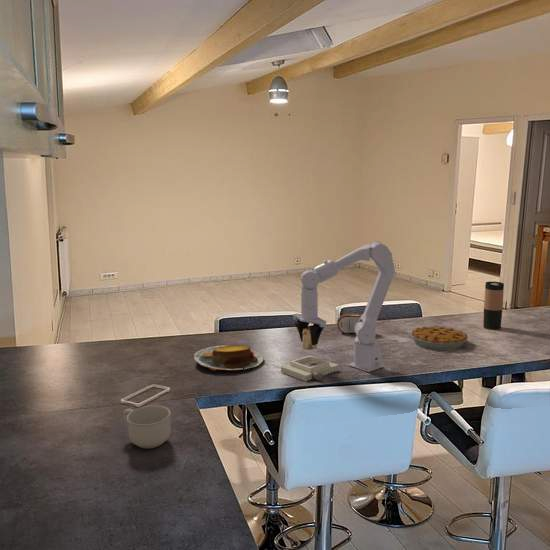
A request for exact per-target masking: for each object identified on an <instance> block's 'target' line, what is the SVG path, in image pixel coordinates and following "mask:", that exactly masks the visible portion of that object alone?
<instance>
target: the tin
mask: <svg viewBox="0 0 550 550" xmlns="http://www.w3.org/2000/svg"><path fill="white" fill-rule="evenodd" d="M362 314H363V313H343V314H341V315H340V316H339V317H338V318H337V322H336V325H337V329H338V330H339V331H340V332H341V333H343V334H346V333H355V331H354V326H355V324H356V323H357V322H358V321H359V320H360V318H361V316H362Z"/></svg>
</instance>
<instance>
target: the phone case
mask: <svg viewBox="0 0 550 550" xmlns="http://www.w3.org/2000/svg"><path fill="white" fill-rule="evenodd" d="M151 388H156V389H161V390H162V391H160V392H159V393H156V394H155V395H153V396H151V397H150V398H147V399H146V400H143V401H141V402H139V403H137V402H133V401H130V400H129V399H132V398H134V397H135V396H137V395H140V394H142V393H143V392H146V391H148V390H150V389H151ZM168 392H171V387H169V386H164V385H159V384H151V385H148V386H146V387H143V388H142V389H140V390H138V391H135V392H133V393H131V394H129V395H127V396H125V397H123V398H121V399H120V403H121V404H125V403H127V404H128V403H129V404H132V405H135V407H137V408H140V407H143V406H145V405H146V404H148V403H150V402H151V401H154V400H155V399H157V398H159V397H160V395H162V394H164V393H168ZM128 400H129V401H128Z"/></svg>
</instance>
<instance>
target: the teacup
mask: <svg viewBox="0 0 550 550" xmlns="http://www.w3.org/2000/svg"><path fill="white" fill-rule="evenodd" d="M171 415H172V414H171V410H170V409H169V408H168V407H166V406H163V405H157V404H152V405H151V404H150V405H142V406H140V407H137V408H135V409H132V408H127V409H125V410H124V411H123V413H122V417H123V418H122V419H123V421H124V422H125V424H126V425H127V431H128V437H129V440H130V441H131V443H133V444H134V445H135V446H138V447H139V448H142V449H154V448H155V449H156V448H158V447H159V446H162V445H163V444H164V443H165V442H166V441H167V440H168V439H169V437H170V435H171V431H172V430H171V429H172V428H171V427H172V425H171V422H172V421H171V420H172V419H171Z"/></svg>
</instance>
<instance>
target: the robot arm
mask: <svg viewBox="0 0 550 550" xmlns="http://www.w3.org/2000/svg"><path fill="white" fill-rule="evenodd" d="M371 260H372V261H373V262H374V263H375V266H376V267H377V269H378V274H377V277H376V279H375V282H374V284H373V287H372V289H371V292H370V294H369V295H370V296H369V298H368V301H367V303H366V306H365V309H364V311H363V313H361V314H362V316H361V318H360V320H359V321H358V322H357V323H356V324H355V326H354V331H355V333H356V334H355V335H356V336H355V338H354V339H353V362H350V363H348V366H349V367H353V368H355V369H358V370H362V371H365V372H368V373H370V372H372V371H376V370H378V369H381V368H383V367H384V366H383V362H382V360H383V358H382V357H383V350H382V347H381V345H379V344H377V343H376V340H375V339H376V337H377V334H376V329H377V326H378V317H379V315H380V312H381V309H382V306H383V304H384V301H385V299H386V297H387V294H388V291H389V288H390V287H391V283H392V281H393V277H394V275H395V271H396V270H395V263H394V260H393V253H392V251H391V250H390V249H389V247H388V246H387V245H385V244H384V243H382V242H381V241H378V240H375V241H372V242H370V243H366V244H364V245H362V246H360V247H358V248H356V249H354V250H353V251H351V252H350V253H347V254H346V255H344V256H342V257H340V258H338V259H337V260H332V259H329V260H327V259H325V260H323V261H322V262H323V263H321V264H319V265H317V266H315V267H314V266H312V267H311V268H310V269H307V270H305V271H303V272H302V274H301V275H300V282H301V293H300V299H301V300H300V301H301V302H300V308H301V311H300V313H293V315H292V317H293V318H292V319H293V320H294V325H295V327H296V330H297V331H298V334H299V338H300V342H301V343H303V335H302V332H303V327H309V329H310V332H311V339H312V345H317V346H318V344H319V339H320V337H321V334H322V332H323V330H324V329H325V327H327V320H324V319H322V318H320V317H319V316H318V310H319V309H318V308H319V305H318V304H319V300H318V299H319V298H318V296H319V294H318V293H319V292H318V285H319V283H320V284H321V283H323V282H326V281H327V280H329V279H332V278H334V277H335V276H338V274H339V272H340V270H341V269H344V268H345V267H348V266H351V265H352V264H355V263H357V262H359V261H371ZM310 324H311V325H310Z"/></svg>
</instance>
